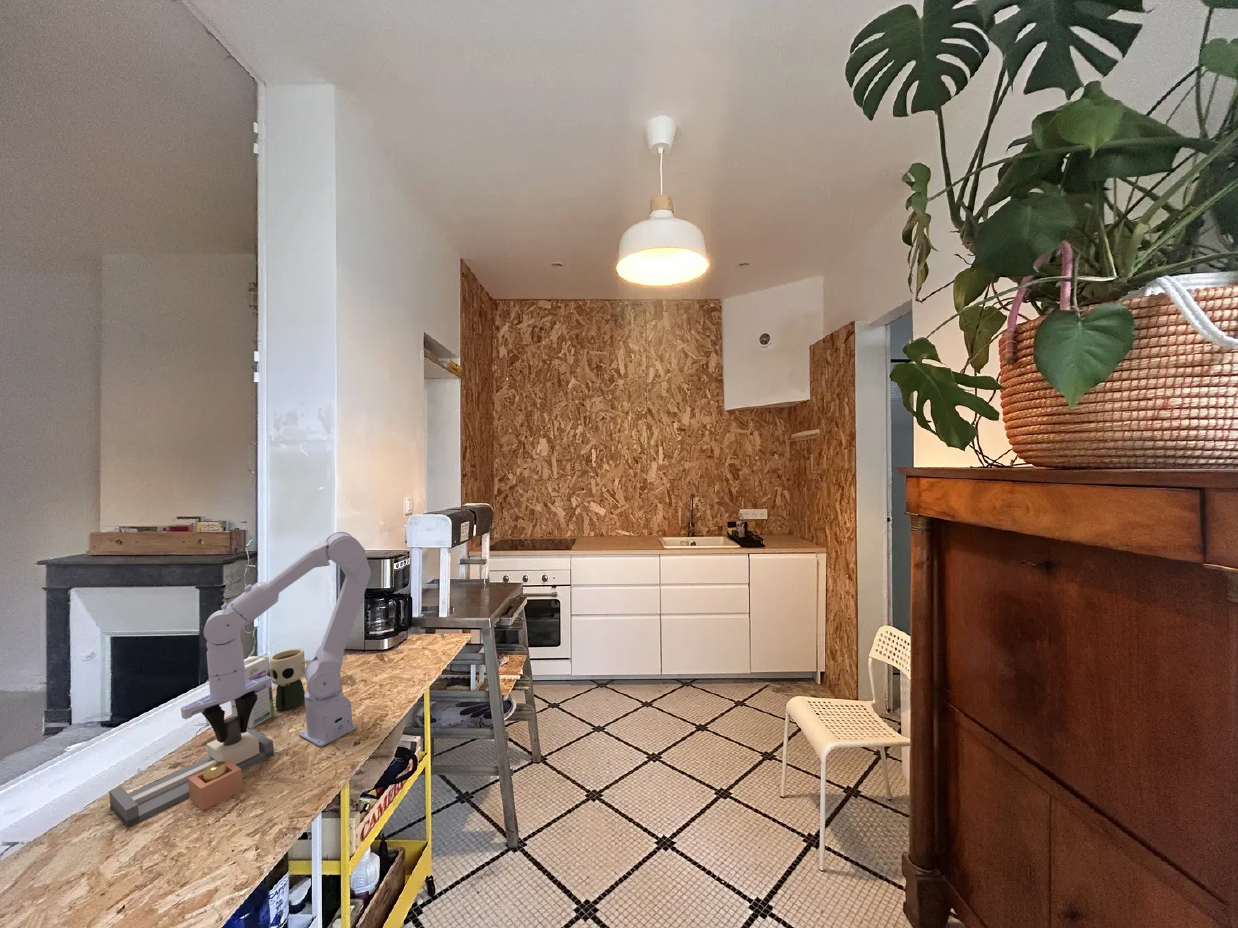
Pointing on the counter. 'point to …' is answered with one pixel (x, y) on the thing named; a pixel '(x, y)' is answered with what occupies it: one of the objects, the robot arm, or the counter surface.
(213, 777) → the button
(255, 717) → the syrup box
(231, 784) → the box
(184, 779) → the rail
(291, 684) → the character mug
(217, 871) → the counter surface
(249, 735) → the carriage
